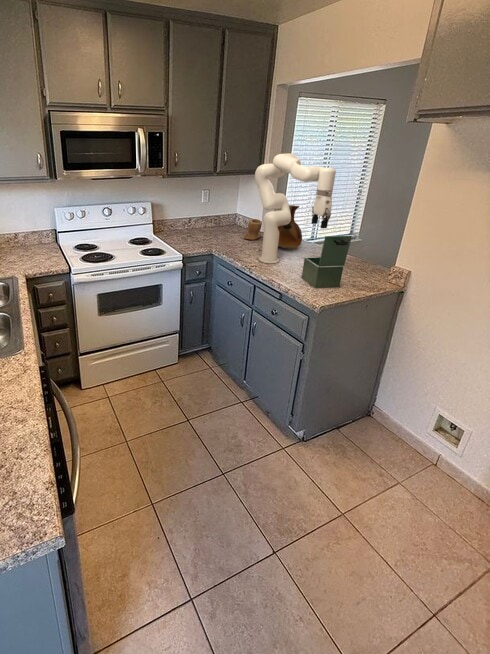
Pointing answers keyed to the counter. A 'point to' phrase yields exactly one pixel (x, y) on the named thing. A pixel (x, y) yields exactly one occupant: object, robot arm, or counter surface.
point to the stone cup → (253, 229)
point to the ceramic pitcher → (290, 232)
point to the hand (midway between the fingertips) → (318, 225)
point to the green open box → (321, 273)
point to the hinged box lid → (334, 251)
